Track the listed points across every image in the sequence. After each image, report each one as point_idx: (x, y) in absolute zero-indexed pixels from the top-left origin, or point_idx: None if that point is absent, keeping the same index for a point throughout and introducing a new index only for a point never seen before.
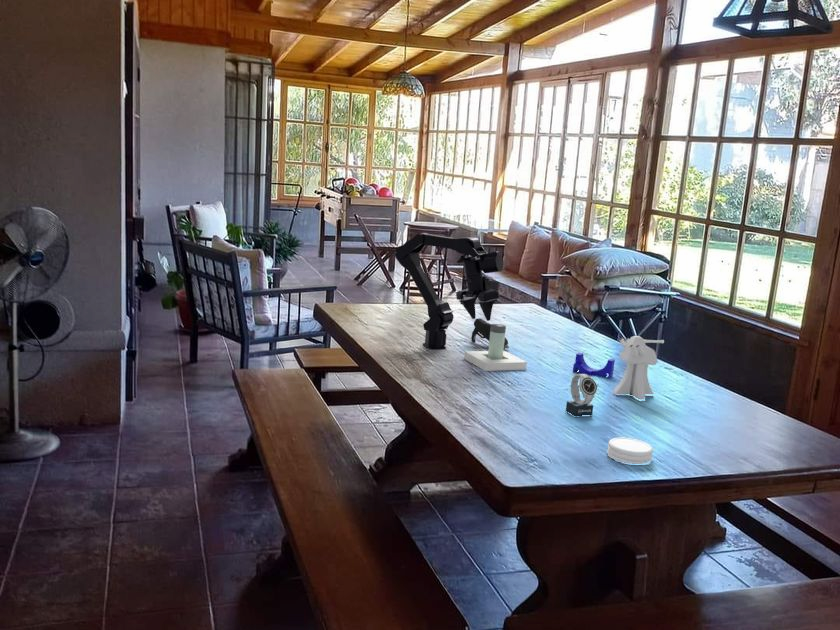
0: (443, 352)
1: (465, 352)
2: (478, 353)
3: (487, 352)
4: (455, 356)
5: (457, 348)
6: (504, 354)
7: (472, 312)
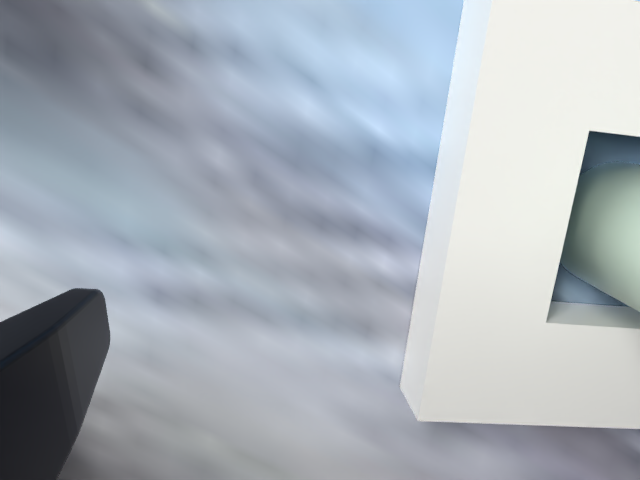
0: (173, 457)
1: (430, 418)
2: (514, 334)
3: (508, 224)
4: (316, 419)
5: (40, 260)
6: (624, 89)
7: (32, 438)
